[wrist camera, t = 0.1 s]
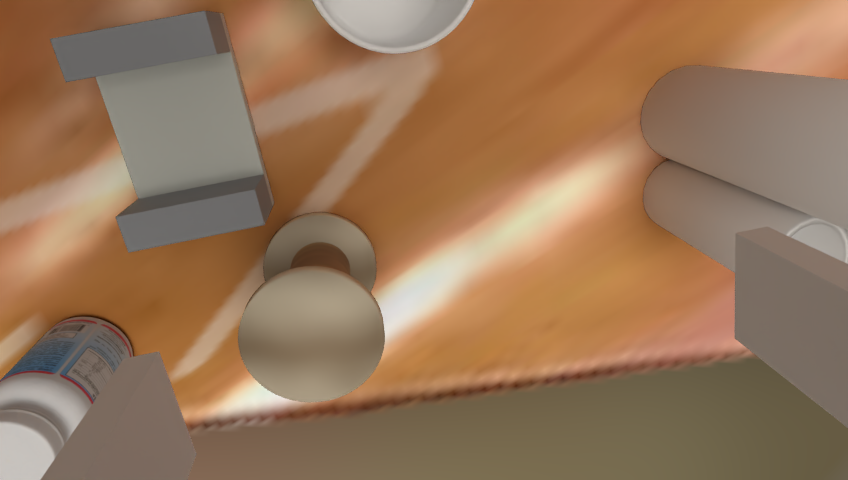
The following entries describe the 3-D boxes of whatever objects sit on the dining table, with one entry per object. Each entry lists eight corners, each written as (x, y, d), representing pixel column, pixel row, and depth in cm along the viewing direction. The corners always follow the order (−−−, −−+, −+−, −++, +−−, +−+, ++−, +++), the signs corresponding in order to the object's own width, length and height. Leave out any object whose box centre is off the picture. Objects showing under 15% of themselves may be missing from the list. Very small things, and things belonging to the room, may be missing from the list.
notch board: (88, 37, 36) (50, 39, 31) (223, 13, 36) (204, 10, 32) (154, 226, 40) (128, 252, 35) (274, 202, 40) (264, 225, 36)
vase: (636, 75, 41) (885, 112, 22) (739, 55, 41) (1070, 76, 22) (644, 232, 44) (861, 379, 26) (737, 213, 45) (1019, 344, 26)
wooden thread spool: (252, 224, 41) (219, 290, 30) (363, 202, 41) (368, 259, 31) (281, 323, 43) (260, 415, 33) (385, 301, 44) (396, 385, 33)
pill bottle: (35, 377, 43) (-68, 491, 32) (55, 302, 41) (-47, 396, 30) (124, 400, 44) (53, 517, 33) (147, 328, 42) (80, 427, 32)
